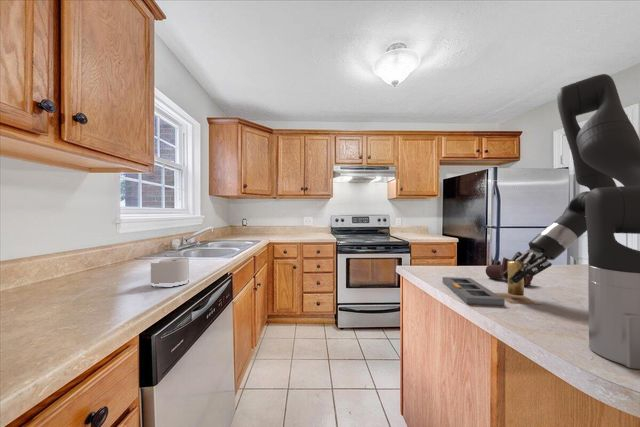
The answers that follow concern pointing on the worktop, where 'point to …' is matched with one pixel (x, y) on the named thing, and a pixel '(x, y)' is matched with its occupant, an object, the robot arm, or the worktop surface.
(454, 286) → the grey flat frame
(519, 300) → the tan rectangular plate
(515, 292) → the gold domed cylinder
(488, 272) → the bracket
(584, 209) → the robot arm
